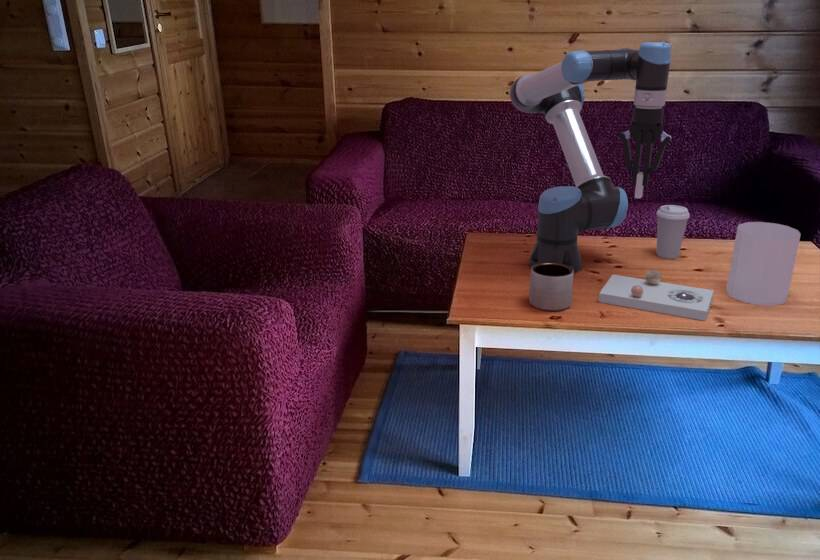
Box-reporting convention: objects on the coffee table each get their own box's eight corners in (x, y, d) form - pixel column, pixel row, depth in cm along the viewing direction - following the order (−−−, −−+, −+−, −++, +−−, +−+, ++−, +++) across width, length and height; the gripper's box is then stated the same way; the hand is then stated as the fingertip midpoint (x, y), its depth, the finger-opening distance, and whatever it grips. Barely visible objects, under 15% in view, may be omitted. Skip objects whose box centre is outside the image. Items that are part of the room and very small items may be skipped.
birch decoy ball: (643, 285, 179) (644, 271, 178) (646, 280, 182) (647, 266, 181) (658, 287, 177) (660, 273, 176) (661, 282, 180) (663, 268, 179)
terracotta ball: (629, 297, 171) (630, 286, 170) (631, 293, 174) (633, 282, 173) (641, 299, 170) (642, 288, 169) (643, 295, 172) (645, 284, 171)
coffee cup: (656, 248, 214) (662, 202, 208) (687, 253, 209) (694, 207, 203) (647, 256, 207) (652, 209, 201) (678, 262, 202) (685, 214, 196)
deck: (598, 301, 175) (599, 293, 174) (611, 282, 188) (612, 274, 187) (705, 320, 164) (707, 311, 163) (712, 299, 176) (713, 290, 175)
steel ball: (678, 289, 171) (692, 293, 170) (677, 291, 174) (691, 295, 173) (674, 302, 171) (688, 306, 170) (673, 304, 174) (687, 308, 173)
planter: (562, 315, 168) (565, 279, 164) (522, 306, 173) (524, 272, 170) (577, 300, 177) (579, 266, 173) (538, 292, 182) (540, 259, 178)
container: (730, 281, 187) (741, 219, 181) (788, 290, 181) (801, 226, 174) (723, 299, 176) (734, 233, 169) (785, 309, 169) (799, 242, 162)
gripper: (619, 107, 170) (610, 197, 179) (673, 109, 164) (661, 203, 173) (625, 103, 176) (616, 191, 185) (678, 106, 170) (666, 196, 179)
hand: (638, 197), depth 179 cm, fingers closed
